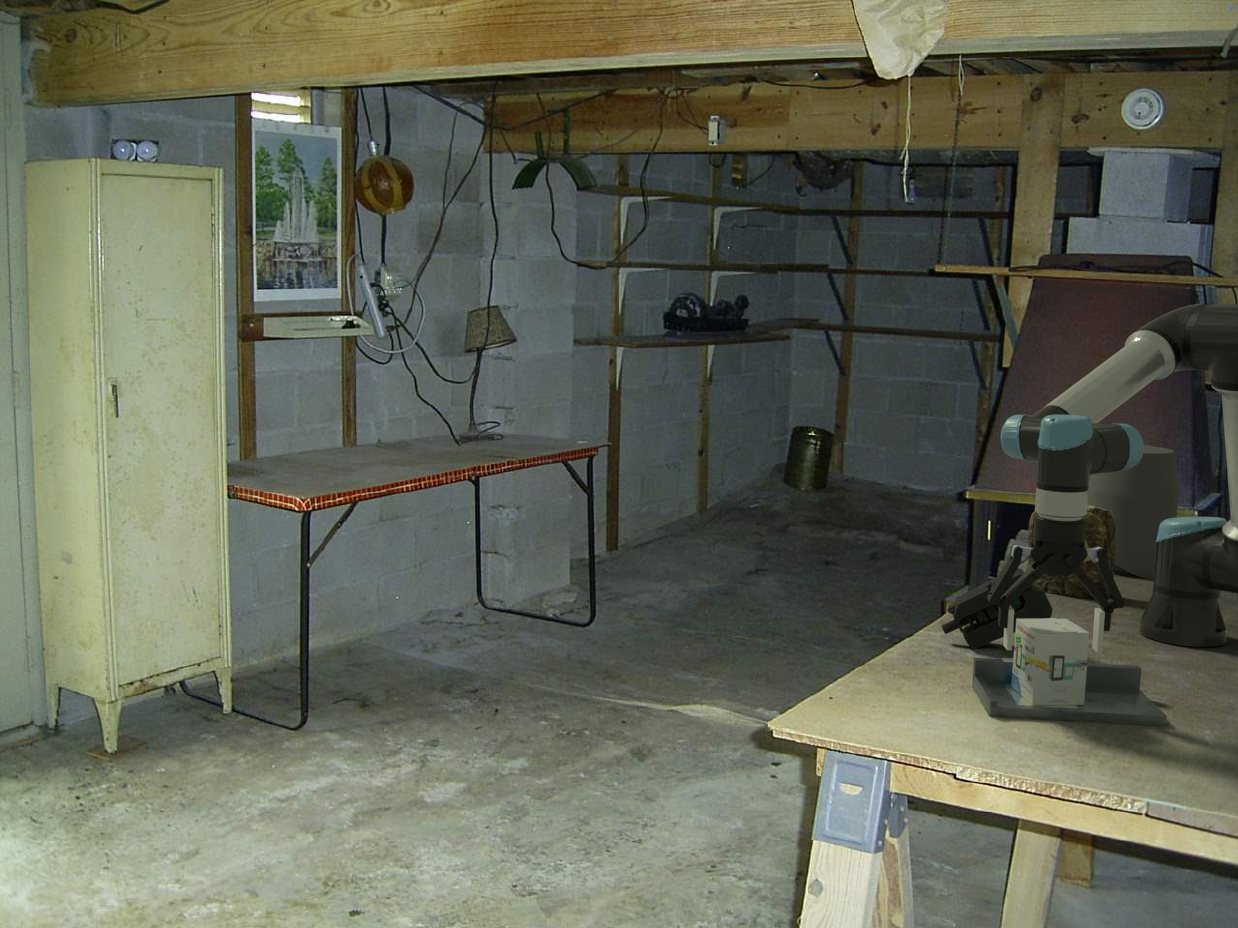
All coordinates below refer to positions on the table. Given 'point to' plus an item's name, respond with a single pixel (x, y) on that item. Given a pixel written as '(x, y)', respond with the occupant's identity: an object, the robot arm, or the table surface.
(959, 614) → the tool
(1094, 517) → the stone block
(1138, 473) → the grey tapered cylinder
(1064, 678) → the ink box
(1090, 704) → the tray
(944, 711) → the table surface
